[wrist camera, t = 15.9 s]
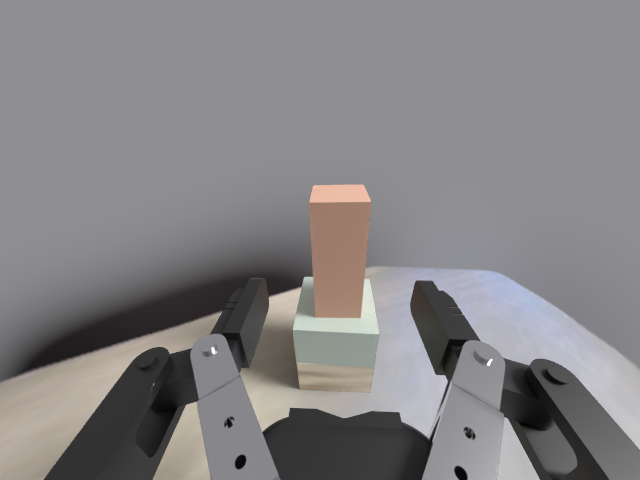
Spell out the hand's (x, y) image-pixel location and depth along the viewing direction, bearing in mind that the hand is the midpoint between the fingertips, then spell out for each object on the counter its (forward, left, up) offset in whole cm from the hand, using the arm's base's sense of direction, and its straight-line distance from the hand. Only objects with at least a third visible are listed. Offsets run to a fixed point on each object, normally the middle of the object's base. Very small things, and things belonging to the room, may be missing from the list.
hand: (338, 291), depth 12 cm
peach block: (+5, +8, -9) cm, 13 cm away
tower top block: (+5, +8, -14) cm, 17 cm away
